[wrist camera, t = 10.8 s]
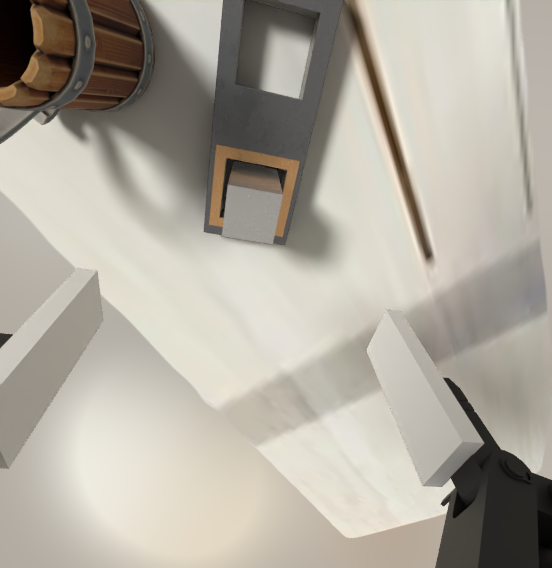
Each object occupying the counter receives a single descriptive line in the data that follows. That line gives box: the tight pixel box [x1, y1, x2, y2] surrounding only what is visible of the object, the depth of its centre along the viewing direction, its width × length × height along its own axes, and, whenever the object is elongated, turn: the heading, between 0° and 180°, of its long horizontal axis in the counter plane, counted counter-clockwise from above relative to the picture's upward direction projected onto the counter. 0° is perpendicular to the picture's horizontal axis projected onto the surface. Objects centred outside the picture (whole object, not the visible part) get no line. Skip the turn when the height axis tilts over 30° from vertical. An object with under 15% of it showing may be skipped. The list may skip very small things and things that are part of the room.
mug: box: [0, 0, 155, 144], centre depth 21 cm, size 16×11×15 cm
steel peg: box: [222, 161, 283, 244], centre depth 30 cm, size 4×4×9 cm
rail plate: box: [204, 0, 343, 245], centre depth 30 cm, size 22×9×3 cm, turn 169°
